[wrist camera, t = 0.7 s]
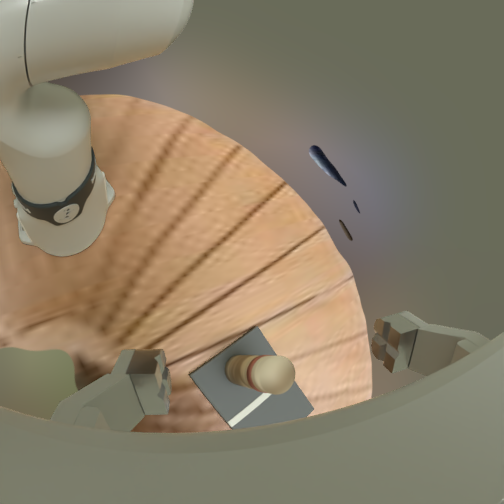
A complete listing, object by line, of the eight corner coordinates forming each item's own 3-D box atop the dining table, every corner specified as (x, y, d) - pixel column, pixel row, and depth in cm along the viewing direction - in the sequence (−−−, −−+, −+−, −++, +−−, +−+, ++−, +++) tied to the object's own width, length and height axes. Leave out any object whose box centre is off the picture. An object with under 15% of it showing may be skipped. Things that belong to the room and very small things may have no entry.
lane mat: (188, 374, 38) (190, 375, 37) (254, 326, 46) (257, 326, 45) (258, 457, 37) (261, 459, 36) (311, 408, 45) (314, 409, 44)
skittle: (217, 366, 40) (251, 372, 30) (242, 348, 43) (281, 346, 32) (236, 391, 39) (274, 403, 29) (259, 372, 42) (302, 377, 32)
